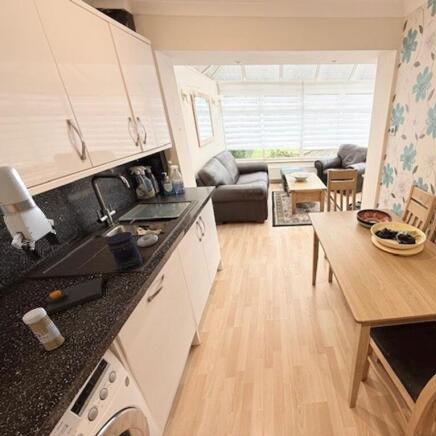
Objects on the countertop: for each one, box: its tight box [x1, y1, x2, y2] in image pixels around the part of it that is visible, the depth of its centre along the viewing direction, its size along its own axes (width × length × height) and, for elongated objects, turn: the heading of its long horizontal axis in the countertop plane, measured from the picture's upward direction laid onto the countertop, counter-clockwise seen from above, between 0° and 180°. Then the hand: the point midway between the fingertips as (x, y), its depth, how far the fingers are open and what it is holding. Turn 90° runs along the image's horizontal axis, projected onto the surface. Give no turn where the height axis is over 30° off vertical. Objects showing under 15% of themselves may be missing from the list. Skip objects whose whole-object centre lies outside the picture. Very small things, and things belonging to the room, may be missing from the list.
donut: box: [136, 233, 159, 248], centre depth 128 cm, size 10×4×10 cm
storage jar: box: [105, 231, 144, 272], centre depth 108 cm, size 10×10×15 cm
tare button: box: [49, 289, 62, 299], centre depth 90 cm, size 3×3×2 cm
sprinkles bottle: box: [21, 307, 66, 351], centre depth 71 cm, size 5×5×13 cm
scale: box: [45, 276, 105, 316], centre depth 93 cm, size 16×12×4 cm
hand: (47, 251), depth 83 cm, fingers open, 9 cm apart
